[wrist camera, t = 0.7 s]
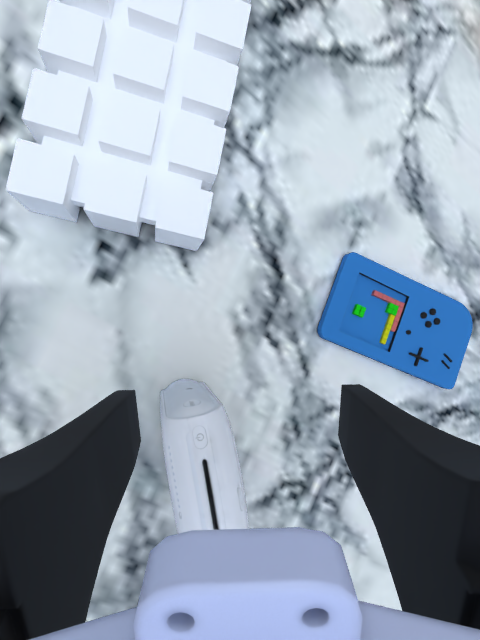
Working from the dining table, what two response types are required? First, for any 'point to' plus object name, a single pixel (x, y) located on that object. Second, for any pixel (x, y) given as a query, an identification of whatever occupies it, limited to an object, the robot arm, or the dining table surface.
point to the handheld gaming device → (396, 321)
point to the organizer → (130, 113)
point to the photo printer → (201, 459)
